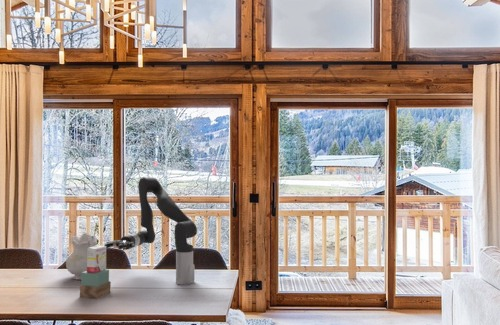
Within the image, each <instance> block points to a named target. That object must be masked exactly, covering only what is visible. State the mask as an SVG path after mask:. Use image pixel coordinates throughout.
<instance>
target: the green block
mask: <svg viewBox="0 0 500 325" xmlns="http://www.w3.org/2000/svg"><path fill="white" fill-rule="evenodd" d="M109 281H110V269H108V268H106V269H105V270H102V271H99V272H97V273H90V272H87V271H85V272H82V274H81V284H80V285H84V286H94V287H98V286H100V285H103V284H105V283H107V282H109Z"/></svg>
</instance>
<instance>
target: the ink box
mask: <svg viewBox="0 0 500 325" xmlns="http://www.w3.org/2000/svg"><path fill="white" fill-rule="evenodd" d="M105 269H107V248H106V246H105V245H99V244H97V245H95V246H93V247H89V248H88V249H87V272H90V273H97V272H99V271H102V270H105Z"/></svg>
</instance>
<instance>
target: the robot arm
mask: <svg viewBox="0 0 500 325" xmlns="http://www.w3.org/2000/svg"><path fill="white" fill-rule="evenodd" d="M137 184H138V186H137V187H138V194H139V195H138V198H139V204H140V226H141V227H142V228H144V229H145V230H140V231H138V232H137V233H131V234H127V235H124V236H122V237H121V238H120V239H118V240H111V241H107V242H106V243H104V246H106V249H109V248H117V249H118V250H125V251H126V250H130V249H134V248H136V247H139V246H141V245H143V244H153V243H154V242H155V239H156V233H155V229H154V213H153V208H152V207H151V205H150V202H149V200H148V193H151V194H153V195H154V196H155V197H156V206H157V208H158V210H159V211H160V213H161V214H163V216H164V217H166V218H168V219H170V220H171V221H174V222H175V227H174V246H175V284H177V285H181V286H182V285H185V286H186V285H188V286H189V285H191V284H193V283H194V282H195V271H196V270H195V266H196V265H195V264H194V246H193V245H192V244H190V243H188V241H187V239H190V238H194V237H195V236H196V235H197V233H198V228H197V225H196V224H195V222H194V221H193V220H191V218H189V216H187V215H186V214H185V213H184V212H183V211H182V210H181V208H179V206H178V205H177V204H176V202H175V201H174V200H173V198H171V197H170V196H169V194H168V193H167V192H166V190H165V189H164V188H163V186H162V185H161V183H160V181H159V180H158V179H157V178H156V177H152V176H149V177H148V176H146V177H141V178H140V179H139V180H138V183H137Z"/></svg>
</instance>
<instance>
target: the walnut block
mask: <svg viewBox="0 0 500 325" xmlns="http://www.w3.org/2000/svg"><path fill="white" fill-rule="evenodd" d="M111 290H112V289H111V281H110V280H109V282H107V283H105V284H103V285H100V286H98V287H94V286H84V285H81V284H80V285H79V298H85V299H95V300H98V299H100V298H102V297H105V296H107V295H109V294H111Z"/></svg>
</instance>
